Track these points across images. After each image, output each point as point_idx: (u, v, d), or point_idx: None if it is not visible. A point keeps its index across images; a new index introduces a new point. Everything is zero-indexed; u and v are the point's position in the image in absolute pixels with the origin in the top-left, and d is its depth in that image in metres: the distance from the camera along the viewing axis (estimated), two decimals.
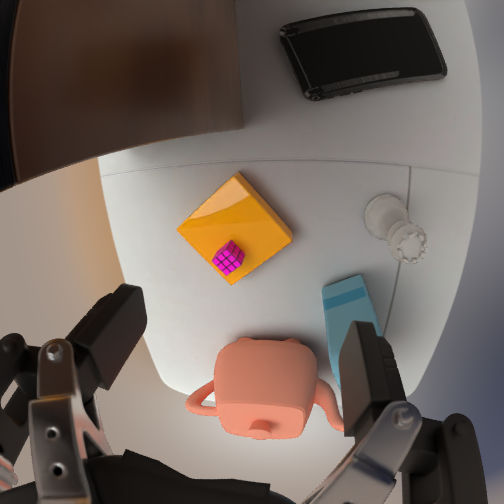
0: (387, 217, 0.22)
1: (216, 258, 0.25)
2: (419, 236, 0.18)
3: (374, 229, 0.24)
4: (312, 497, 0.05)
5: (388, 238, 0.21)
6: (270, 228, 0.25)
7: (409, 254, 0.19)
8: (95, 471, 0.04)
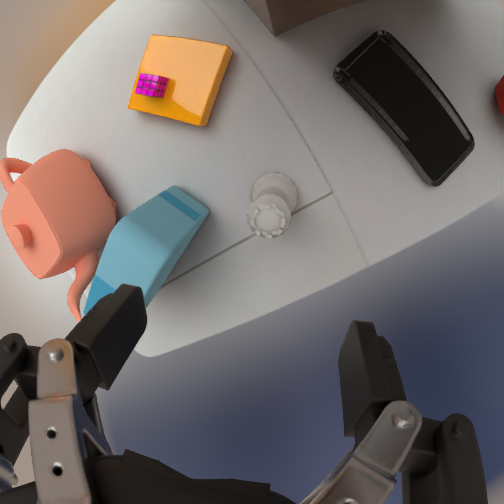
0: (276, 190, 0.23)
1: (145, 74, 0.19)
2: (283, 219, 0.19)
3: (257, 189, 0.25)
4: (312, 497, 0.05)
5: None
6: (199, 101, 0.22)
7: (260, 223, 0.20)
8: (95, 471, 0.04)
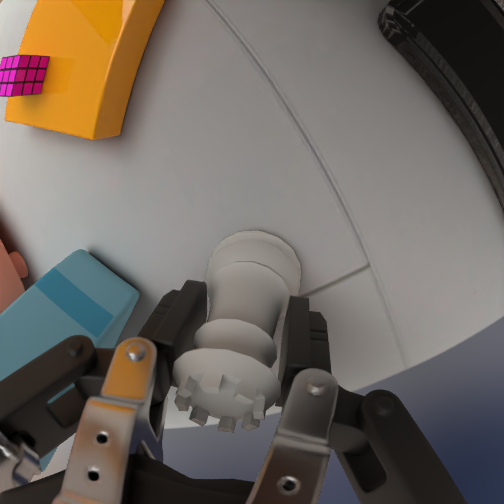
0: (251, 290, 0.10)
1: (6, 59, 0.06)
2: (258, 412, 0.06)
3: (213, 273, 0.12)
4: None
5: (206, 327, 0.08)
6: (91, 88, 0.09)
7: (203, 404, 0.07)
8: None
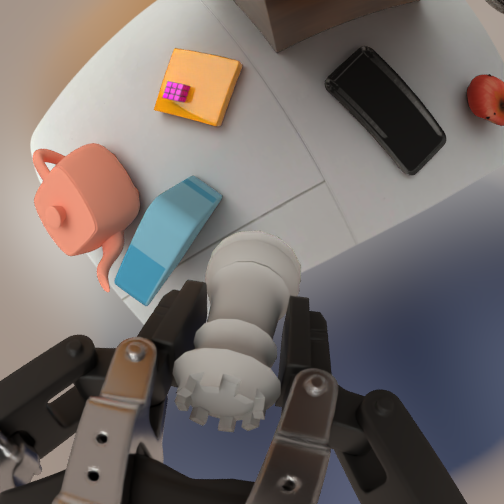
0: (251, 290, 0.10)
1: (171, 82, 0.25)
2: (257, 411, 0.06)
3: (214, 273, 0.12)
4: None
5: (206, 327, 0.08)
6: (215, 105, 0.27)
7: (203, 403, 0.07)
8: None
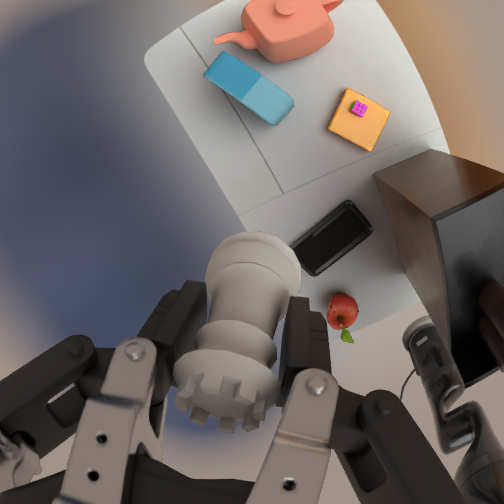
0: (252, 291, 0.10)
1: (365, 109, 0.36)
2: (257, 413, 0.06)
3: (214, 274, 0.12)
4: None
5: (206, 328, 0.08)
6: (342, 131, 0.40)
7: (203, 404, 0.07)
8: None
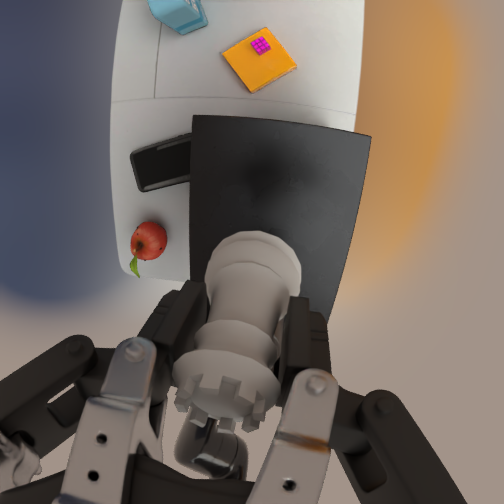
0: (251, 291, 0.10)
1: (266, 47, 0.31)
2: (257, 413, 0.06)
3: (213, 273, 0.12)
4: None
5: (205, 328, 0.08)
6: (233, 61, 0.34)
7: (203, 405, 0.07)
8: None
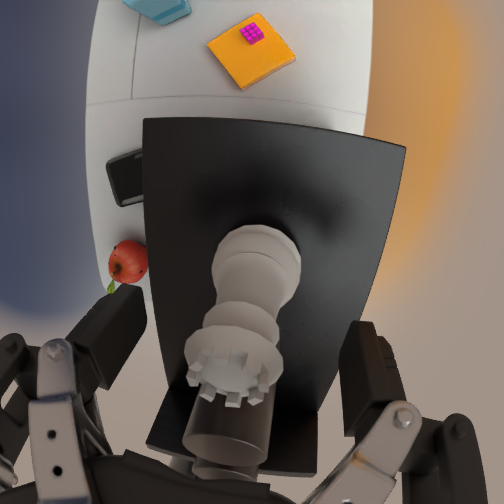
0: (256, 277, 0.11)
1: (258, 34, 0.25)
2: (262, 384, 0.07)
3: (220, 263, 0.13)
4: (312, 497, 0.05)
5: (214, 309, 0.09)
6: (220, 52, 0.28)
7: (212, 379, 0.08)
8: (95, 471, 0.04)
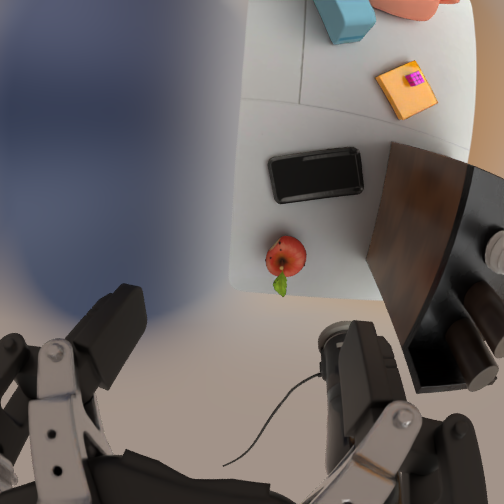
0: None
1: (422, 82, 0.30)
2: None
3: (502, 248, 0.18)
4: (312, 497, 0.05)
5: None
6: (389, 86, 0.33)
7: None
8: (95, 471, 0.04)
